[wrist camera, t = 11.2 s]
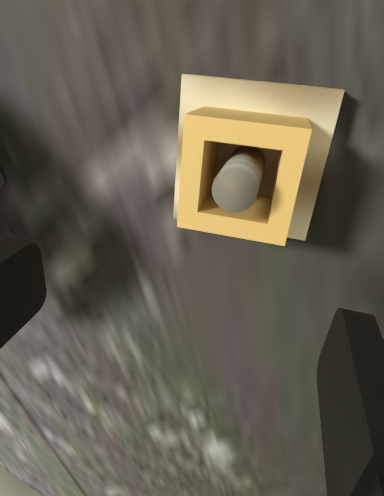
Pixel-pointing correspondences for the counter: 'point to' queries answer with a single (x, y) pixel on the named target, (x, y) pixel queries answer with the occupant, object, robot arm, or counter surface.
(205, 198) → the ring
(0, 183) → the storage bin
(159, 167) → the counter surface
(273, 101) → the post stand
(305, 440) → the counter surface
